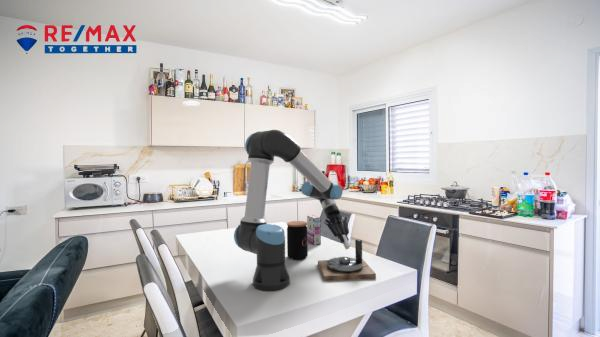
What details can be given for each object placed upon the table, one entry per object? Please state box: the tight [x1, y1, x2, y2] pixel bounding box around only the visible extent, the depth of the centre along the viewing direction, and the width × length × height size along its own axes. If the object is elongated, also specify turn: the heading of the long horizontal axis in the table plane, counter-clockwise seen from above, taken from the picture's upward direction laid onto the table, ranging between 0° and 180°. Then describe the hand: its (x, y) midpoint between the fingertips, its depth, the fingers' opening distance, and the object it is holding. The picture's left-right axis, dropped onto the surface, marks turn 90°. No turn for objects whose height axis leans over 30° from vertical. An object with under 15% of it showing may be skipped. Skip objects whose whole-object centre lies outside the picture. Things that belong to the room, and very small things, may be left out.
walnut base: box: [317, 258, 377, 282], centre depth 134 cm, size 22×20×2 cm
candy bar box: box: [306, 214, 322, 246], centre depth 183 cm, size 11×5×16 cm, turn 21°
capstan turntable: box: [327, 239, 363, 273], centre depth 134 cm, size 16×16×12 cm
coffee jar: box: [286, 220, 309, 261], centre depth 155 cm, size 11×11×18 cm
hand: (348, 247), depth 143 cm, fingers closed
